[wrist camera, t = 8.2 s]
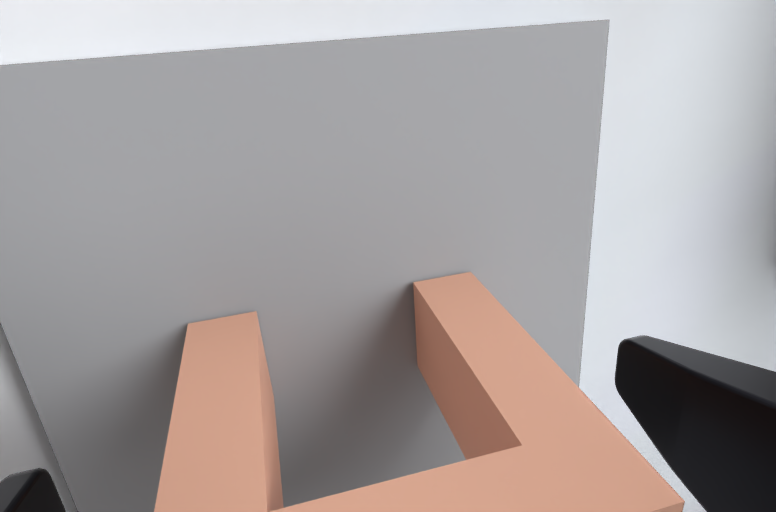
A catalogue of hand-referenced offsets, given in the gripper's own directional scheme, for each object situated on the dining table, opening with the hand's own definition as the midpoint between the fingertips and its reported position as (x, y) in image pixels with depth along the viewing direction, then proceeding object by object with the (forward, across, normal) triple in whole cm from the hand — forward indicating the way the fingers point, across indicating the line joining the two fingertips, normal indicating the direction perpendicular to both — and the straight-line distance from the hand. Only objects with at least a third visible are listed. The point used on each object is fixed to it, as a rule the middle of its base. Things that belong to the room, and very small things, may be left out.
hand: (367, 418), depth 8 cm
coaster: (+3, 0, 0) cm, 3 cm away
